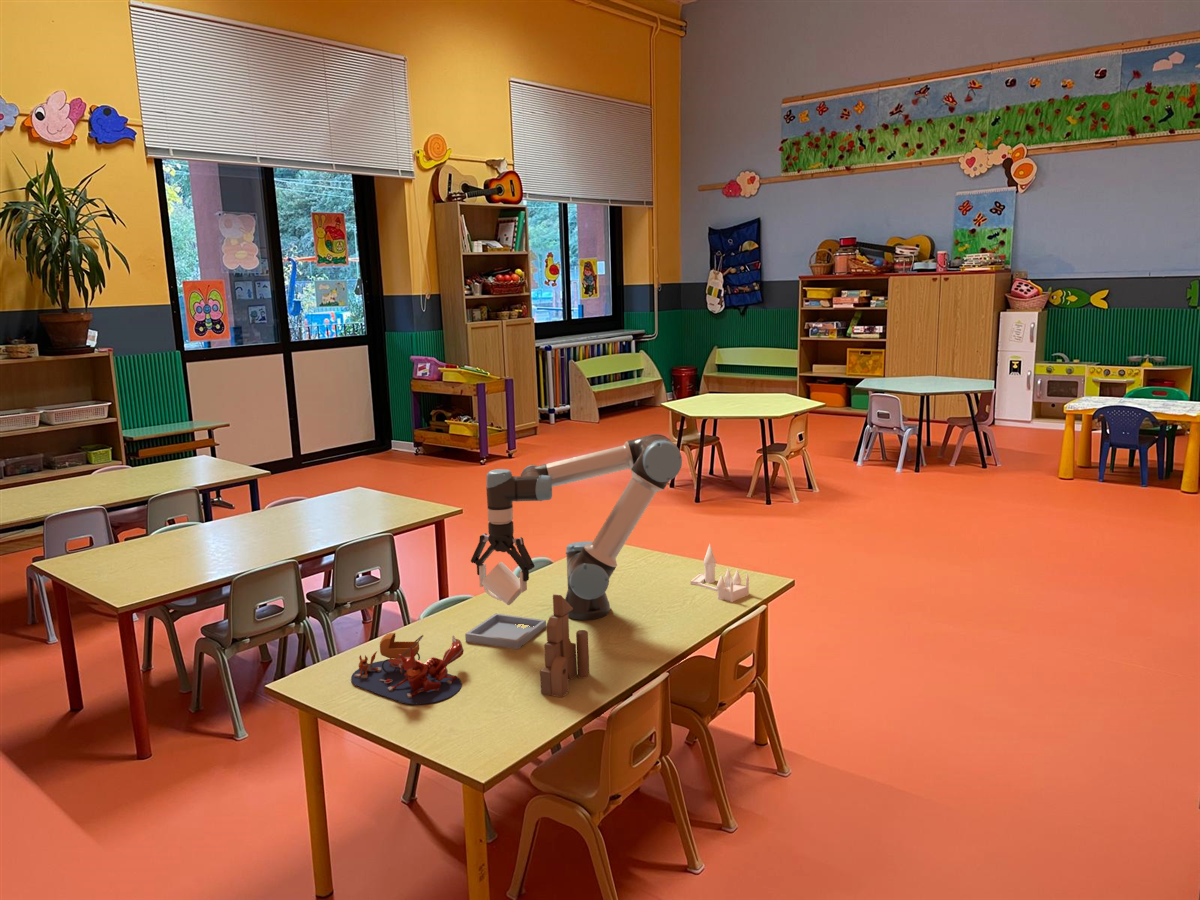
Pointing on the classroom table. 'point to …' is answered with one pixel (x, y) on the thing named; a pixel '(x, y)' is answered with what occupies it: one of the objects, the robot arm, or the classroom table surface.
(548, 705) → the classroom table surface
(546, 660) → the wooden toy
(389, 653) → the toy playset
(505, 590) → the mug
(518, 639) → the tray
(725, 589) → the toy castle
